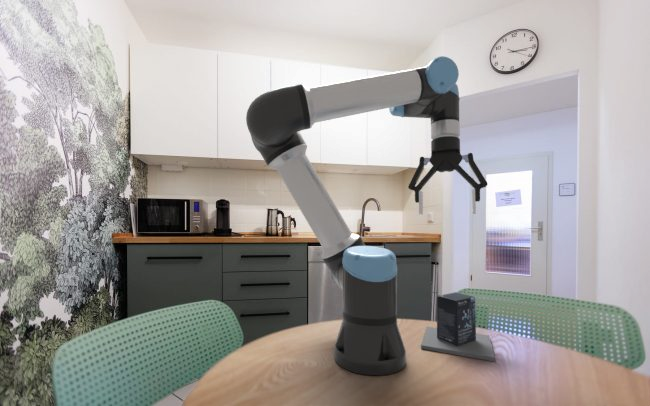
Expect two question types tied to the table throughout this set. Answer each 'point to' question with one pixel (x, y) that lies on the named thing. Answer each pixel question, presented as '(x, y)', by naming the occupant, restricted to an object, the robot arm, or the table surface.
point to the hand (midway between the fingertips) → (446, 214)
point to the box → (456, 318)
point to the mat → (473, 349)
